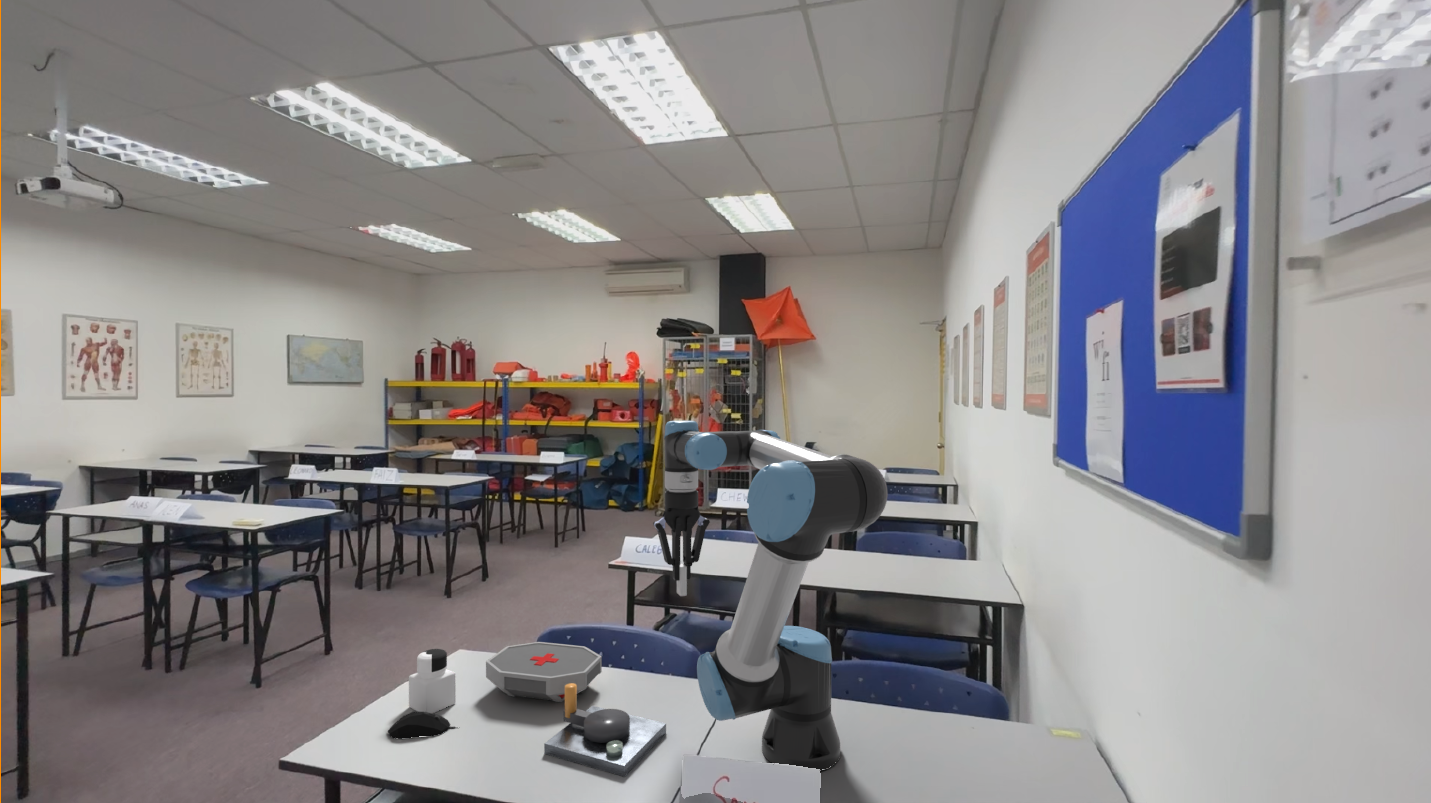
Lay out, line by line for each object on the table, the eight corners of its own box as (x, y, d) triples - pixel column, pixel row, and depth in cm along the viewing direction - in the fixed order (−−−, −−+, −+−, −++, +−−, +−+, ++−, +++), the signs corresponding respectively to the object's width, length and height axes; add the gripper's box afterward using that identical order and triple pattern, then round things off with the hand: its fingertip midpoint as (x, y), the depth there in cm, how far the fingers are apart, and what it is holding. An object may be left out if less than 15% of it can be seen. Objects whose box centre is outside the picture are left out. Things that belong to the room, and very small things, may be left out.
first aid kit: (474, 702, 142) (576, 715, 136) (474, 669, 142) (576, 681, 136) (516, 668, 159) (608, 679, 153) (516, 639, 159) (608, 648, 153)
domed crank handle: (638, 724, 127) (638, 690, 127) (612, 747, 119) (612, 710, 119) (579, 708, 134) (579, 675, 133) (551, 729, 125) (551, 694, 125)
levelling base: (666, 732, 129) (666, 716, 129) (624, 776, 114) (624, 758, 114) (592, 714, 136) (592, 699, 136) (544, 753, 121) (544, 736, 121)
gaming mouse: (459, 737, 128) (459, 718, 128) (382, 742, 126) (382, 722, 126) (468, 721, 134) (468, 703, 134) (395, 725, 133) (395, 706, 132)
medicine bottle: (438, 694, 145) (438, 643, 145) (456, 703, 141) (455, 650, 141) (408, 707, 139) (407, 653, 139) (425, 717, 135) (425, 661, 135)
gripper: (658, 493, 135) (658, 602, 136) (714, 490, 140) (714, 595, 140) (649, 488, 142) (649, 592, 143) (703, 485, 147) (703, 586, 147)
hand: (681, 593), depth 142 cm, fingers closed
